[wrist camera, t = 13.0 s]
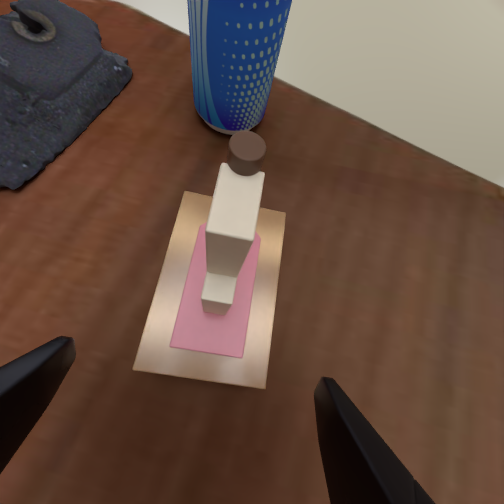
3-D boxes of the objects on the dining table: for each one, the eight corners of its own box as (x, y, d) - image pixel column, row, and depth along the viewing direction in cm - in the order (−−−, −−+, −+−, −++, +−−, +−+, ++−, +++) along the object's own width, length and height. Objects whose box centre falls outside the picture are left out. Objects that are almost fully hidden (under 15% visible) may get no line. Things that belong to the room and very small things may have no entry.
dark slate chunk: (-138, 136, 23) (-223, 87, 18) (31, 15, 31) (0, -40, 26) (16, 205, 23) (-30, 173, 18) (144, 66, 31) (133, 21, 26)
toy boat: (237, 355, 18) (304, 395, 5) (175, 345, 17) (86, 362, 5) (258, 227, 21) (327, 70, 9) (206, 216, 21) (202, 35, 8)
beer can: (236, 79, 33) (259, -138, 18) (276, 123, 31) (337, -73, 16) (180, 100, 30) (152, -135, 15) (221, 150, 29) (233, -57, 14)
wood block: (254, 379, 21) (265, 389, 17) (147, 363, 20) (131, 370, 16) (274, 233, 26) (286, 212, 22) (188, 215, 25) (184, 190, 21)
